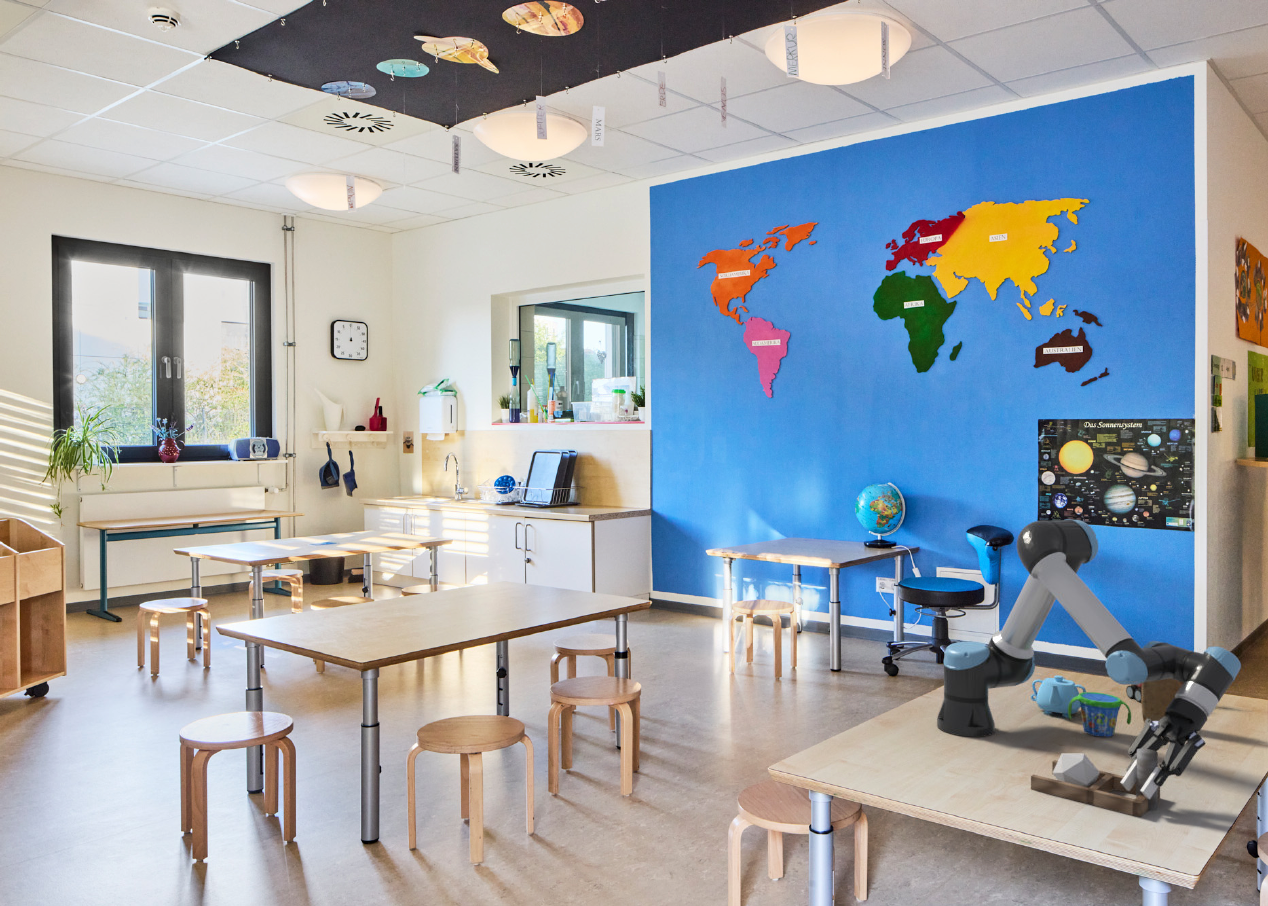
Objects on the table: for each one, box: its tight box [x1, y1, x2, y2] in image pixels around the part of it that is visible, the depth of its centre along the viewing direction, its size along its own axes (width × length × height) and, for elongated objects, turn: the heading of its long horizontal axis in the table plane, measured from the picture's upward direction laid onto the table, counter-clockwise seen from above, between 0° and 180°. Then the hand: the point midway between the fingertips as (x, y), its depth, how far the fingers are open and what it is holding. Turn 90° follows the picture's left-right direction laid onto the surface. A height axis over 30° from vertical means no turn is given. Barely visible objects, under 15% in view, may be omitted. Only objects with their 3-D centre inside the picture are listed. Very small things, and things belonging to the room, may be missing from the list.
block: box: [1140, 679, 1184, 724], centre depth 262 cm, size 11×8×20 cm
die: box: [1052, 752, 1100, 788], centre depth 213 cm, size 8×9×10 cm
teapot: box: [1030, 675, 1087, 719], centre depth 274 cm, size 13×14×11 cm
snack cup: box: [1068, 691, 1132, 738], centre depth 255 cm, size 16×10×10 cm
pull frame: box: [1030, 749, 1161, 818], centre depth 210 cm, size 24×15×12 cm, turn 46°
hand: (1134, 790), depth 201 cm, fingers closed on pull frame, 4 cm apart
